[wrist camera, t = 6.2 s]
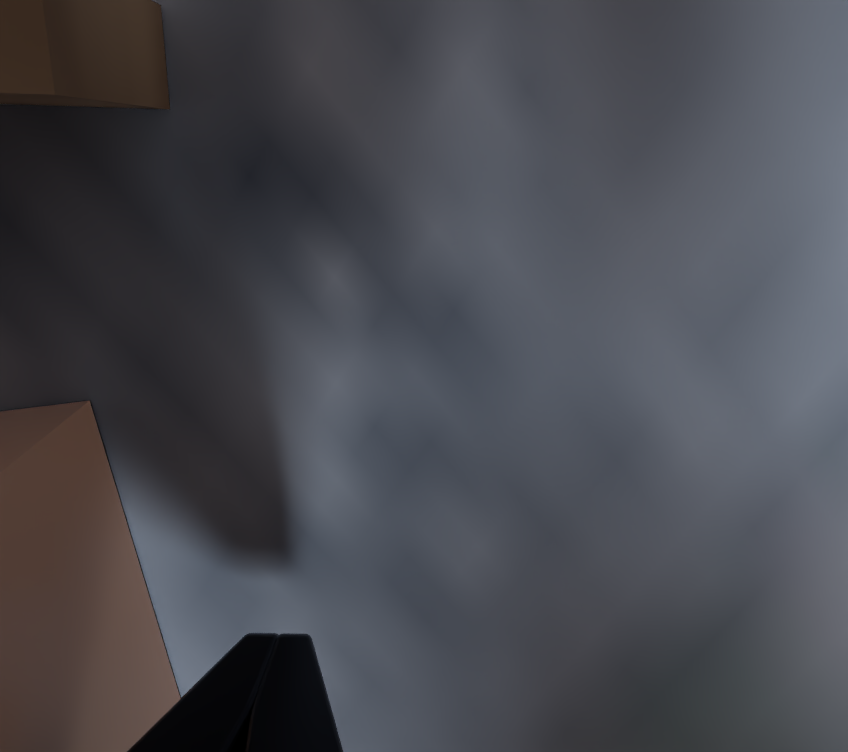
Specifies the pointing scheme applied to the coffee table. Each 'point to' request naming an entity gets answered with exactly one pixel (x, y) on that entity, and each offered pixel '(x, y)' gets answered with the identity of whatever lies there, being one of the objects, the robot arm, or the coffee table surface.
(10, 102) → the bay
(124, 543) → the terracotta block
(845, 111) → the coffee table surface
